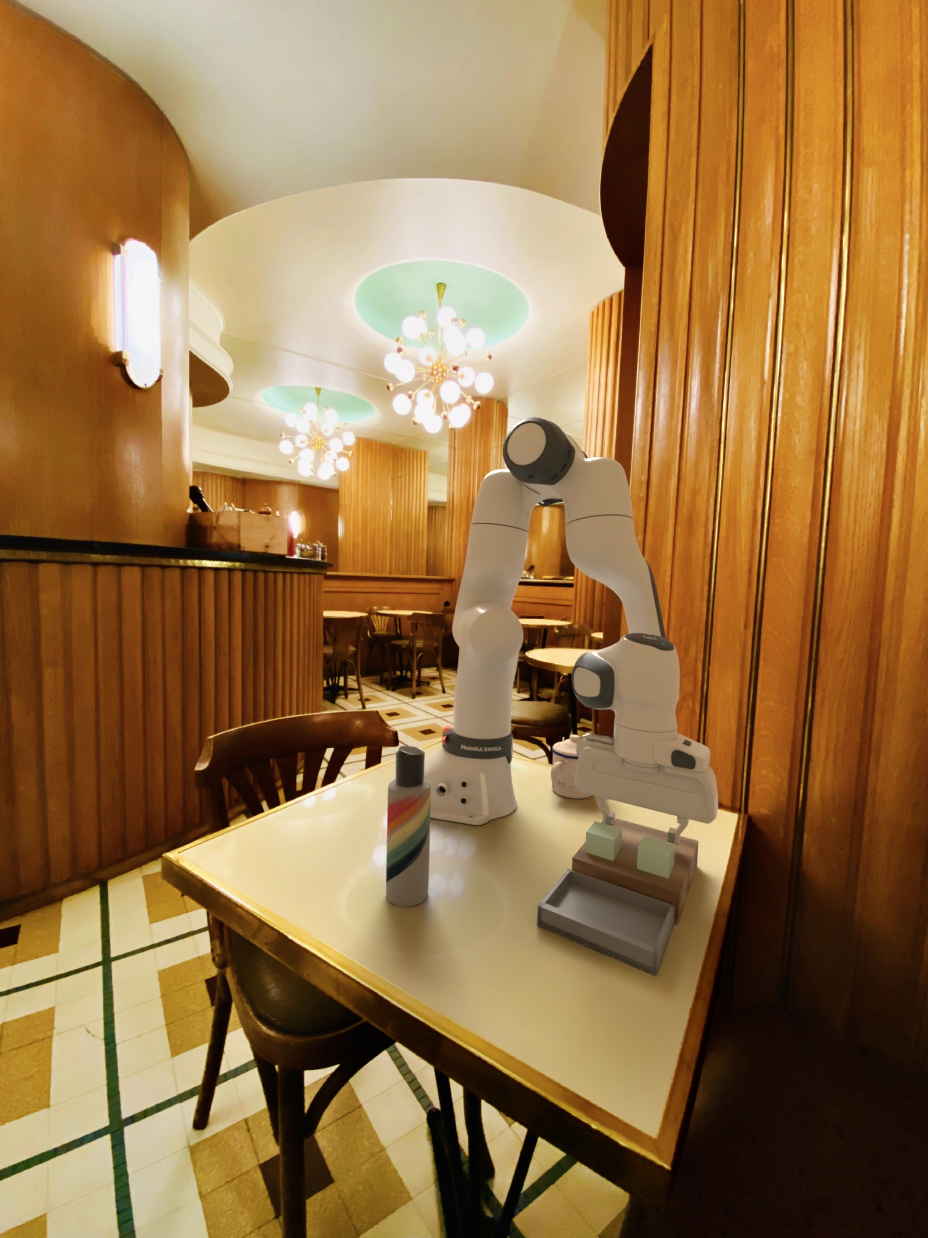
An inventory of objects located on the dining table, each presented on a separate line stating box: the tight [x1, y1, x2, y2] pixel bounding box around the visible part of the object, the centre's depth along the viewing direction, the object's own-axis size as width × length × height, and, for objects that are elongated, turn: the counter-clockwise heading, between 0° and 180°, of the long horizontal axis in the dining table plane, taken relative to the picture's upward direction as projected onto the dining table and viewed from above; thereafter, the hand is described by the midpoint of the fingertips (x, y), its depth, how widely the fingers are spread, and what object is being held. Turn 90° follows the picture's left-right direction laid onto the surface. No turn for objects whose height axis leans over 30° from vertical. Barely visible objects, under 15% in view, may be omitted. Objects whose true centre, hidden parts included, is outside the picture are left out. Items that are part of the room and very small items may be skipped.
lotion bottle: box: [385, 745, 431, 908], centre depth 65 cm, size 6×6×20 cm
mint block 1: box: [585, 820, 622, 861], centre depth 71 cm, size 4×4×3 cm
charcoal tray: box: [536, 868, 675, 977], centre depth 61 cm, size 10×14×2 cm
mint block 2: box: [637, 835, 675, 879], centre depth 67 cm, size 4×4×3 cm
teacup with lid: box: [550, 734, 593, 800], centre depth 101 cm, size 12×9×12 cm
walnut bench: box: [571, 817, 699, 925], centre depth 72 cm, size 16×14×4 cm
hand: (640, 833), depth 74 cm, fingers open, 8 cm apart
